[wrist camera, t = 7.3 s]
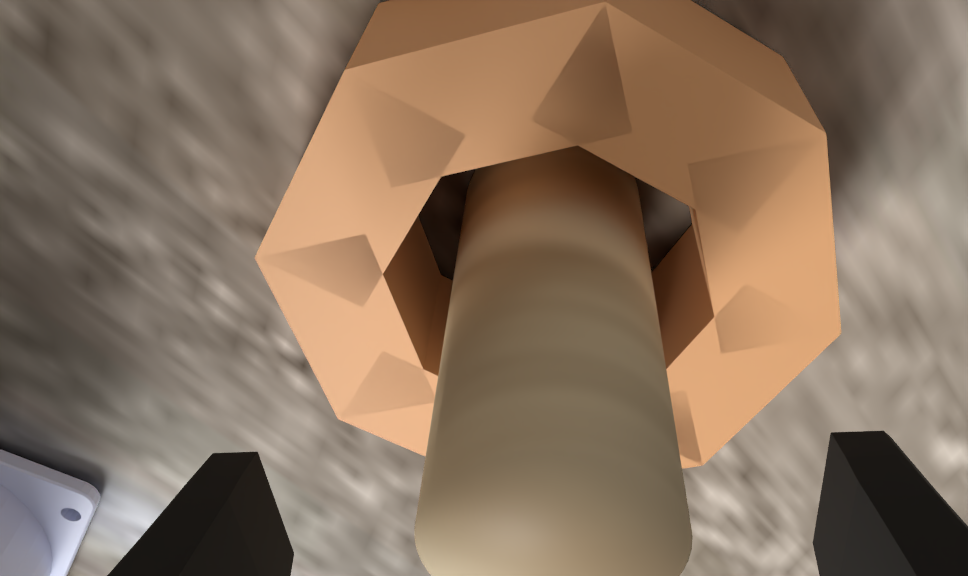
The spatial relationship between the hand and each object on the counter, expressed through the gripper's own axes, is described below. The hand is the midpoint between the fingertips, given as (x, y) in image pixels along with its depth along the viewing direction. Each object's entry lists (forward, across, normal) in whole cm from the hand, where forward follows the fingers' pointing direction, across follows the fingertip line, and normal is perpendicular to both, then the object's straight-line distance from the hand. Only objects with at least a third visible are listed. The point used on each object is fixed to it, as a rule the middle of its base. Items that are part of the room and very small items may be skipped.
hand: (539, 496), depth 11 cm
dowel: (+7, 0, 0) cm, 7 cm away
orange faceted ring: (+7, 0, 0) cm, 7 cm away
